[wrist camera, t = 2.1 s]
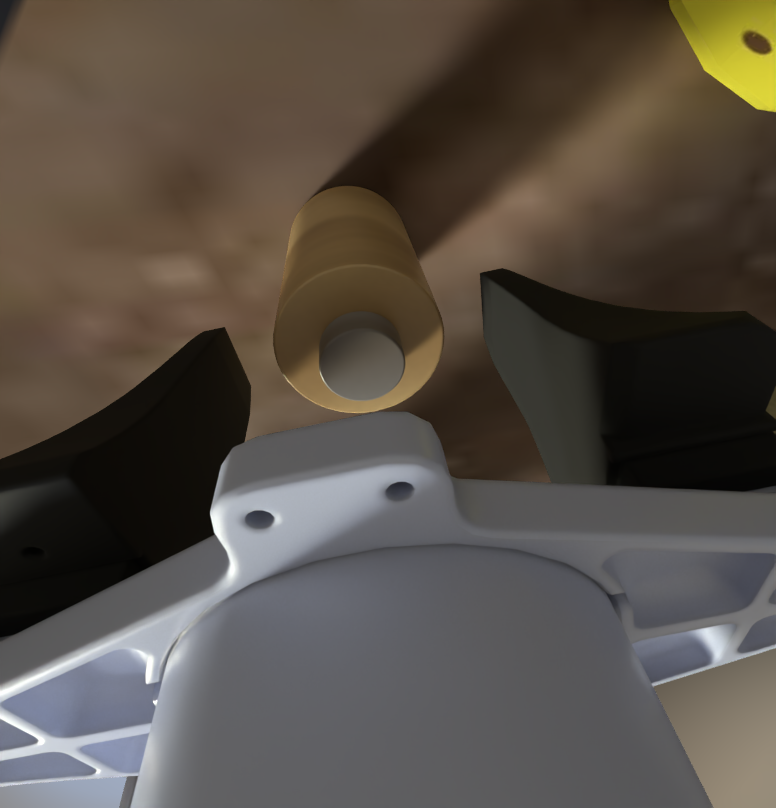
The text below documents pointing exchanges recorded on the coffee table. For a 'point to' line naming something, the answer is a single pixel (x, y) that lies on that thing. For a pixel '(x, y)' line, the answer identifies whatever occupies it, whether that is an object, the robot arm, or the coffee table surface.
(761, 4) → the banana
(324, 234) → the pepper mill
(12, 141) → the coffee table surface
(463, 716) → the robot arm
